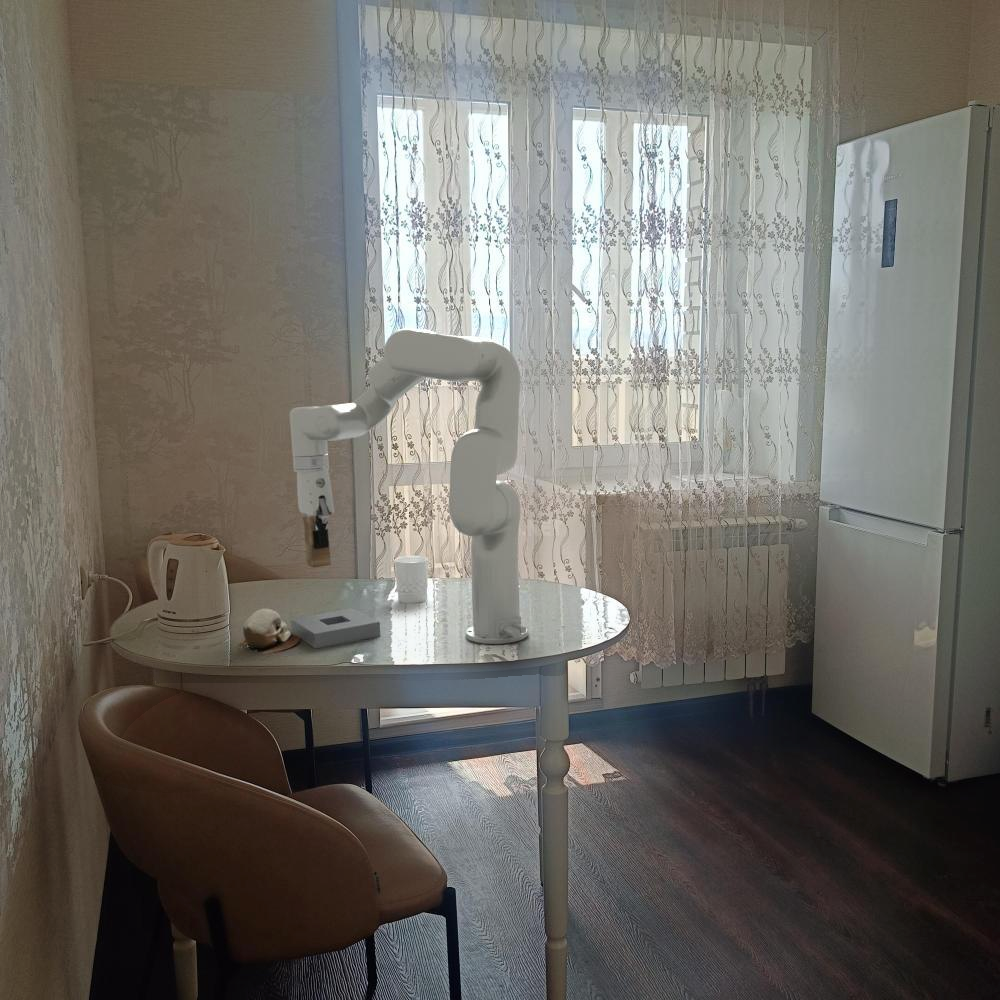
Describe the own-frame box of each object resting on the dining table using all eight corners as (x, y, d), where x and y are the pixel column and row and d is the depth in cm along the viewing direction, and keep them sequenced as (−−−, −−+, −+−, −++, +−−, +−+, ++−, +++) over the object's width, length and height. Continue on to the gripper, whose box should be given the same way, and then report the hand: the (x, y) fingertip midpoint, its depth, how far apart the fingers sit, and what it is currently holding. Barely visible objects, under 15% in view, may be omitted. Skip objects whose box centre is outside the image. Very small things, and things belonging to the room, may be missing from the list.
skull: (269, 628, 192) (289, 596, 187) (294, 666, 189) (316, 635, 184) (221, 640, 183) (242, 607, 178) (247, 680, 179) (269, 648, 174)
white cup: (407, 595, 222) (405, 554, 220) (435, 597, 218) (433, 556, 217) (389, 602, 215) (387, 561, 213) (418, 605, 211) (416, 563, 210)
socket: (380, 636, 187) (379, 621, 187) (315, 648, 180) (314, 633, 179) (353, 621, 199) (352, 608, 198) (291, 632, 192) (290, 618, 191)
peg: (330, 565, 200) (326, 511, 198) (313, 567, 198) (309, 513, 196) (324, 562, 203) (320, 509, 201) (306, 565, 201) (302, 511, 199)
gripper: (342, 464, 192) (348, 549, 195) (313, 460, 206) (319, 539, 209) (308, 467, 188) (314, 554, 191) (281, 463, 202) (288, 544, 205)
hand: (317, 545), depth 200 cm, fingers closed on peg, 4 cm apart
